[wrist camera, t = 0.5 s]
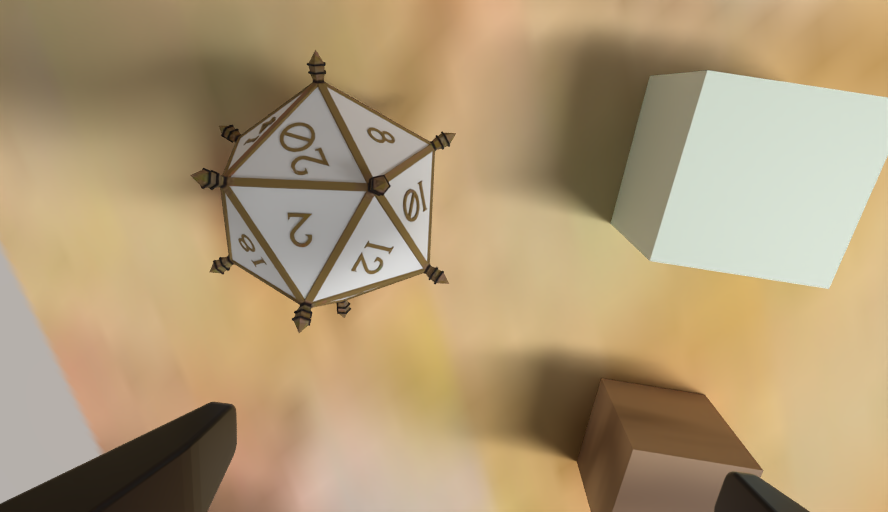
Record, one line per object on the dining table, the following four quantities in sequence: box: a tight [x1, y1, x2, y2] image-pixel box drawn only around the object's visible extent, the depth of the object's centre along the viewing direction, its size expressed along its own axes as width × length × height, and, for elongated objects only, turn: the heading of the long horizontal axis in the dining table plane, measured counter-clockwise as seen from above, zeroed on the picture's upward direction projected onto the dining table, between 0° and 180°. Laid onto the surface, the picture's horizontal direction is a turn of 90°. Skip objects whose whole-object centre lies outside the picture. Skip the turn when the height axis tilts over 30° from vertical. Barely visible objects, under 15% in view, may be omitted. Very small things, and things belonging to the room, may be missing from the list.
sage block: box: [611, 70, 888, 289], centre depth 17 cm, size 6×6×5 cm
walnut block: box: [577, 378, 763, 512], centre depth 22 cm, size 5×5×5 cm
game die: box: [191, 50, 456, 333], centre depth 17 cm, size 9×8×10 cm
